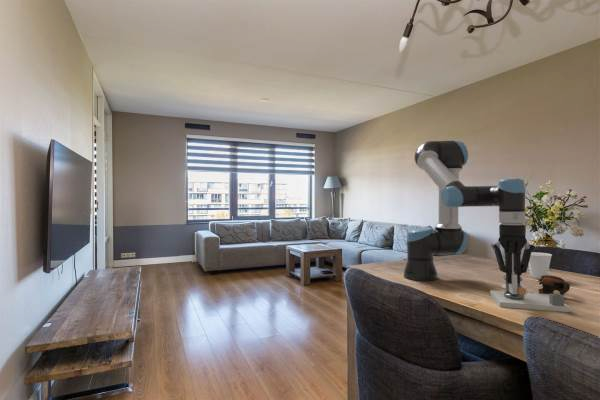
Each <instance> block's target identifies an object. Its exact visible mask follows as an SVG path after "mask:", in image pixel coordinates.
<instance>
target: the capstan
mask: <svg viewBox="0 0 600 400" xmlns="http://www.w3.org/2000/svg"><path fill="white" fill-rule="evenodd" d="M503 279H504V280H505V284H506V289H505V291H506V292H504V296H505V297H507V298H511V299H524V295H526V293H527V288H526V287H525V288H526V289H525V288H523V287H524V286H523V285H521V283H520V284H517V292H518V294H512V293H510V292H509V284H508V283H507V282H506V275H503ZM522 281H523V277H522V276H520V282H522ZM522 286H523V287H522Z"/></svg>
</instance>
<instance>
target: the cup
mask: <svg viewBox="0 0 600 400" xmlns="http://www.w3.org/2000/svg"><path fill="white" fill-rule="evenodd" d="M552 257H553V254H551V253H546V252H535V251H532V252H531V256H530V260H529V264H528V270H529V273H530V277H531V278H533V279H538V280H540V279H541V276H543V275H549V270H550V265H551V259H552Z"/></svg>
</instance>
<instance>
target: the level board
mask: <svg viewBox="0 0 600 400" xmlns="http://www.w3.org/2000/svg"><path fill="white" fill-rule="evenodd" d="M504 292H506V290H505V291H504V290H490V292H489V294H490V296H491V297H492V298H493V300H494V301H495V302H496V303H497V305H498V306H499V307H500V308H501V307H502V308H511V309H512V308H513V309H524V310H525V309H526V310H534V311H535V310H537V311H539V310H540V311H549V312H550V311H551V312H561V313H562V312H563V313H571V306H569V305H568V304H566V303H565V296H564V295H561V294H560V292H559V291H558V290H555V291H553V294H539V292H537V293H536V292H526V295H524V299H511V298H507V297H505V296H504Z"/></svg>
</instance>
